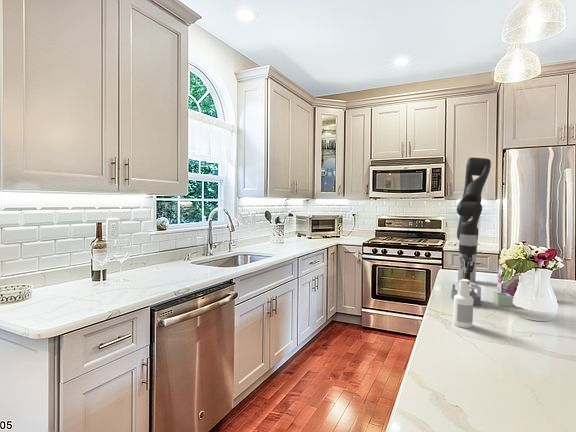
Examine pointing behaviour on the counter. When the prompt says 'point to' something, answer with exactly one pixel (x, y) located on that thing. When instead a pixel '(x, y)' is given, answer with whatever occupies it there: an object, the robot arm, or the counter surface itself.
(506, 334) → the counter surface
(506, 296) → the green square hole block
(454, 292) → the box
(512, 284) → the candy bar box
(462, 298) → the spray bottle
